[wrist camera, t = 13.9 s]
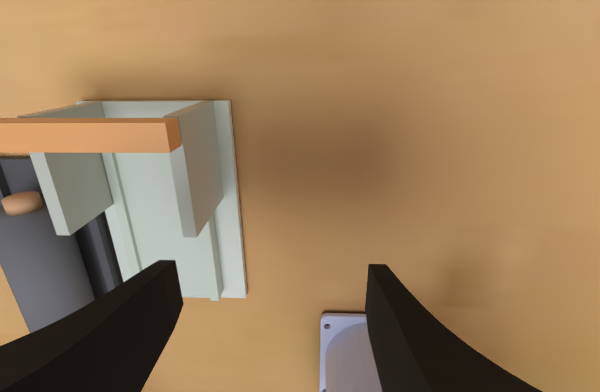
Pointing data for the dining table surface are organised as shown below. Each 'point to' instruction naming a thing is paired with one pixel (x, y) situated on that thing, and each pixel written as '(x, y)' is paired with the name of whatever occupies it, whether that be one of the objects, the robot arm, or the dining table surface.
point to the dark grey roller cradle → (91, 237)
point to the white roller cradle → (157, 194)
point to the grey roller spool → (40, 262)
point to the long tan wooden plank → (89, 135)
